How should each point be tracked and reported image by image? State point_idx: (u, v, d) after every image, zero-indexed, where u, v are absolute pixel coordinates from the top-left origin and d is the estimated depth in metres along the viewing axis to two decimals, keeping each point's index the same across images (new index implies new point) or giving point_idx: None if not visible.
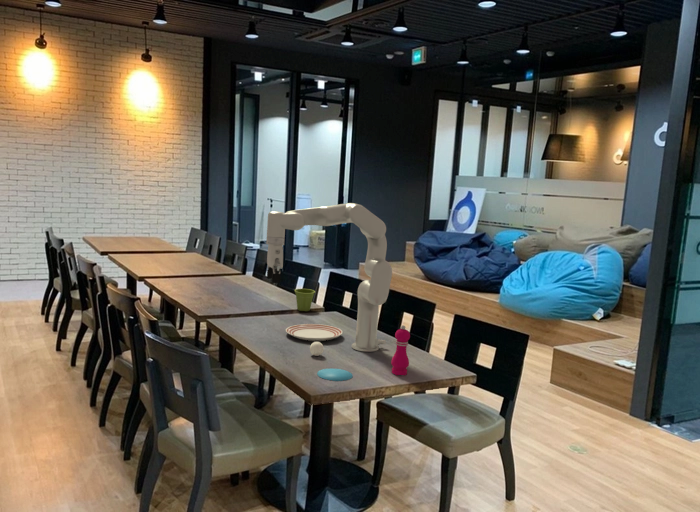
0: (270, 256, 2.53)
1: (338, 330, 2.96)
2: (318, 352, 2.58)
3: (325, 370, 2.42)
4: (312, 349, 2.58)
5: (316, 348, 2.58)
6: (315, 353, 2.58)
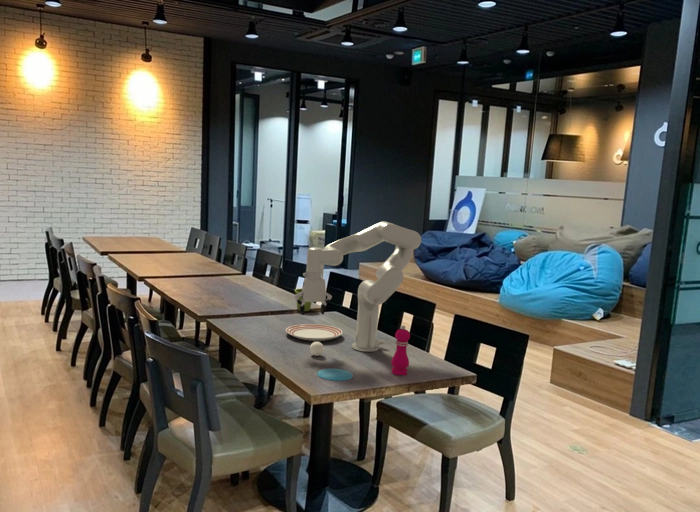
0: None
1: (338, 330, 2.96)
2: (318, 352, 2.58)
3: (325, 370, 2.42)
4: (312, 349, 2.58)
5: (316, 348, 2.58)
6: (315, 353, 2.58)
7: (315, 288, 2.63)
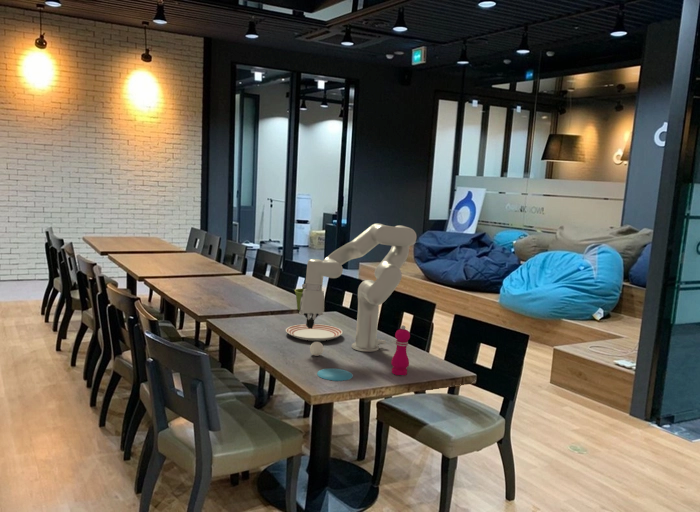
0: None
1: (338, 330, 2.96)
2: (318, 352, 2.58)
3: (325, 370, 2.42)
4: (312, 349, 2.58)
5: (316, 348, 2.58)
6: (315, 353, 2.58)
7: (313, 299, 2.64)
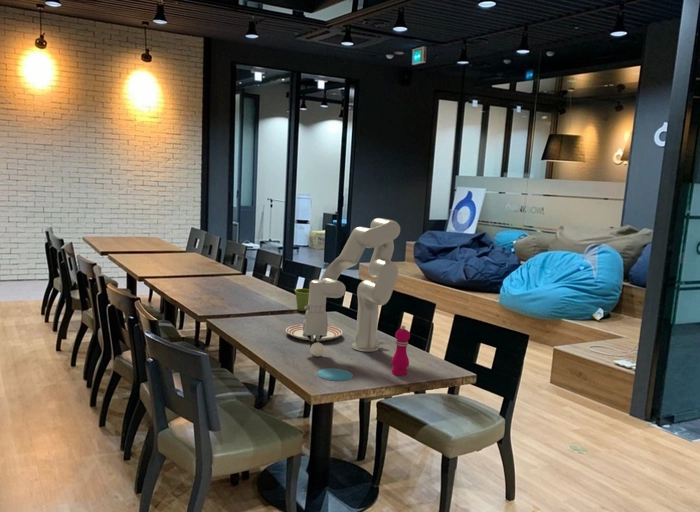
0: None
1: (338, 330, 2.96)
2: (319, 354, 2.58)
3: (325, 370, 2.42)
4: (313, 351, 2.57)
5: (317, 350, 2.57)
6: (315, 355, 2.58)
7: (316, 321, 2.60)
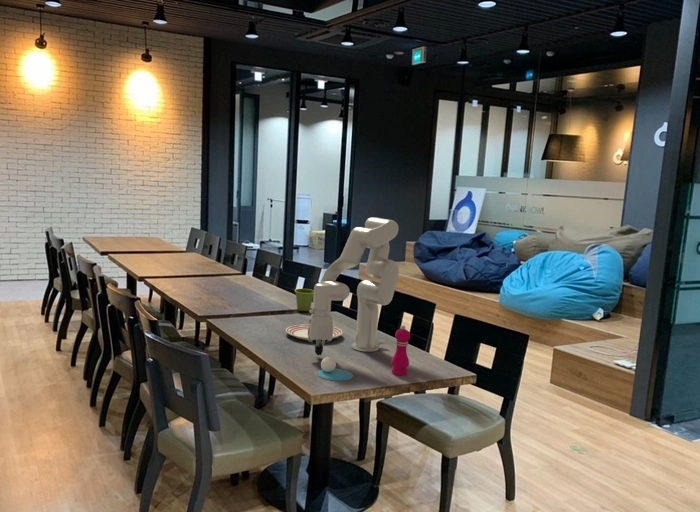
0: None
1: (338, 330, 2.96)
2: (329, 371, 2.39)
3: None
4: (323, 368, 2.38)
5: (328, 368, 2.38)
6: (326, 371, 2.39)
7: (322, 325, 2.54)
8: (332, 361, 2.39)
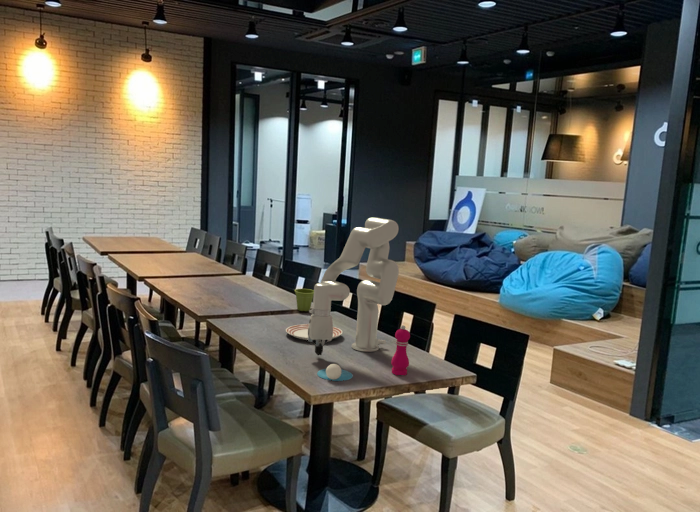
0: None
1: (338, 330, 2.96)
2: None
3: (325, 370, 2.42)
4: None
5: None
6: None
7: (322, 325, 2.54)
8: None
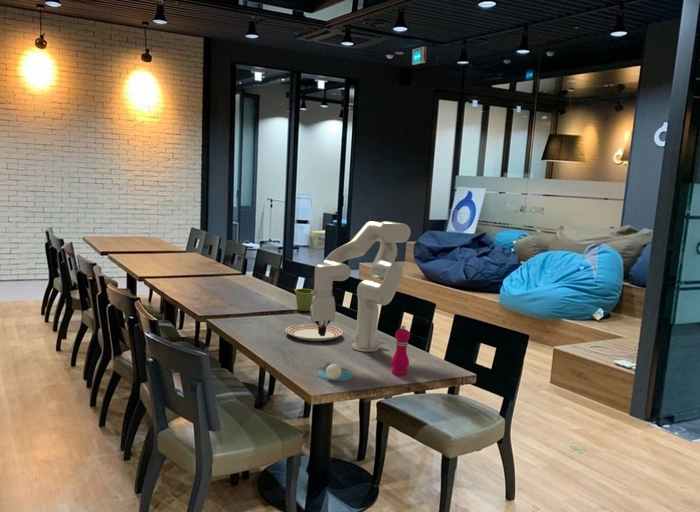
0: None
1: (338, 330, 2.96)
2: None
3: (325, 370, 2.42)
4: None
5: None
6: None
7: (324, 306, 2.53)
8: None
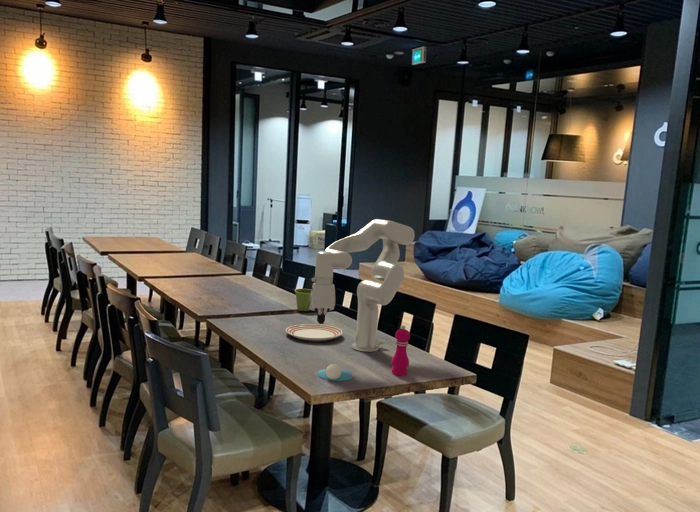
0: None
1: (338, 330, 2.96)
2: None
3: (325, 370, 2.42)
4: None
5: None
6: None
7: (324, 293, 2.52)
8: None
